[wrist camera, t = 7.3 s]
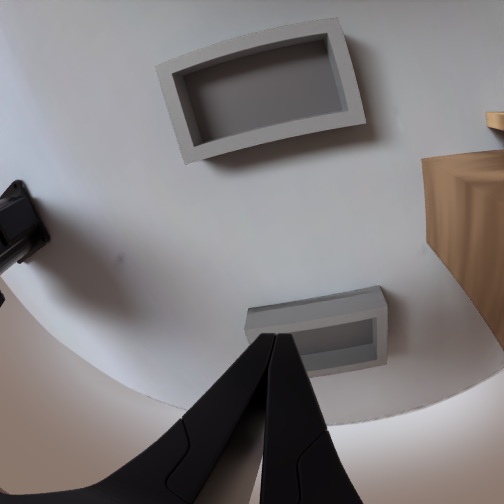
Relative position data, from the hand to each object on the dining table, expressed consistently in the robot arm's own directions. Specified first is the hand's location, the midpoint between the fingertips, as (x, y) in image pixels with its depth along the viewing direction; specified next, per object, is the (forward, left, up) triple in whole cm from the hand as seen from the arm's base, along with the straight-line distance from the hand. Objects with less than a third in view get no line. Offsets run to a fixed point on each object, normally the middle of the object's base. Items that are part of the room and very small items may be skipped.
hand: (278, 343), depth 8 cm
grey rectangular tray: (+2, +7, -13) cm, 14 cm away
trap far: (-1, -11, -13) cm, 17 cm away
